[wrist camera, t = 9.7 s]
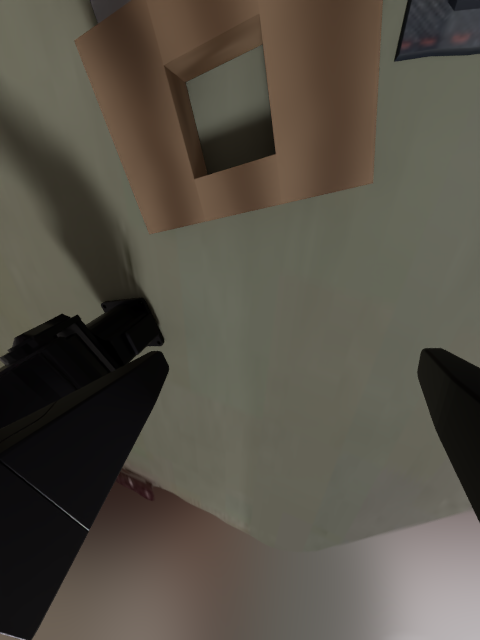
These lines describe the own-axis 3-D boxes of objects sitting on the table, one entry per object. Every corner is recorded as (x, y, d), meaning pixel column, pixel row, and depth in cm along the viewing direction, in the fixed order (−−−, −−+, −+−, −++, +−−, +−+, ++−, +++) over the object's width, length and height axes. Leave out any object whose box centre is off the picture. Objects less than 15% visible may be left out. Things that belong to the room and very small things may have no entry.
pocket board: (166, 228, 20) (149, 234, 18) (107, 60, 15) (74, 40, 13) (364, 182, 15) (372, 183, 13) (375, -105, 10) (392, -185, 8)
